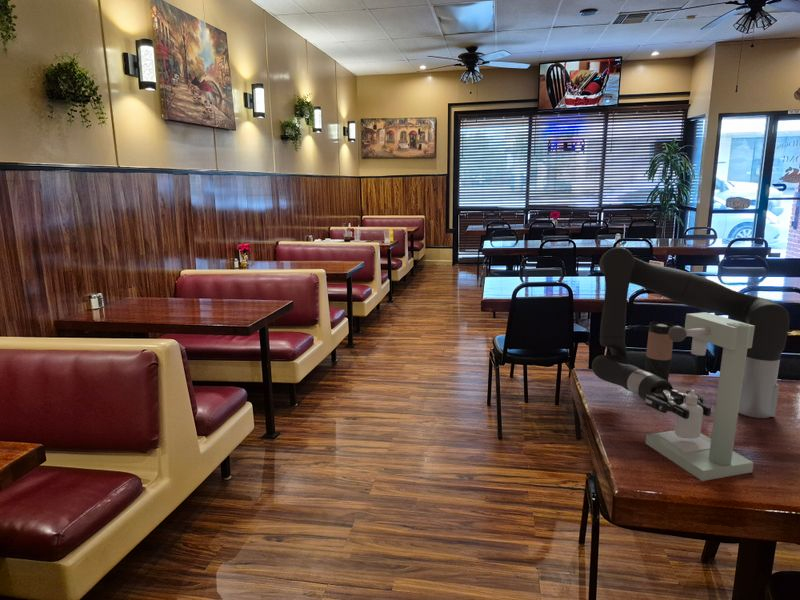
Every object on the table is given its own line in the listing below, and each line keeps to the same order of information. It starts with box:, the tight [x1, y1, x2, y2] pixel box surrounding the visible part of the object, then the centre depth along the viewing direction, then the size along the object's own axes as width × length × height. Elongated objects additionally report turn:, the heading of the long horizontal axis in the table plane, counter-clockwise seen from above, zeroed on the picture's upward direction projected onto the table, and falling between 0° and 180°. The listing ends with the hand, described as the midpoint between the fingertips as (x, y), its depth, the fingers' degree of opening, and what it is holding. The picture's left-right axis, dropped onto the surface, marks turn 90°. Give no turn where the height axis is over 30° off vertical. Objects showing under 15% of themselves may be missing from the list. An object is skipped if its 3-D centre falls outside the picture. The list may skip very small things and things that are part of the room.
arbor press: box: [645, 312, 755, 482], centre depth 120 cm, size 18×20×35 cm
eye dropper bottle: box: [673, 389, 704, 439], centre depth 125 cm, size 4×6×12 cm
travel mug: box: [644, 321, 675, 382], centre depth 171 cm, size 8×8×20 cm
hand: (698, 413), depth 122 cm, fingers closed on eye dropper bottle, 5 cm apart
